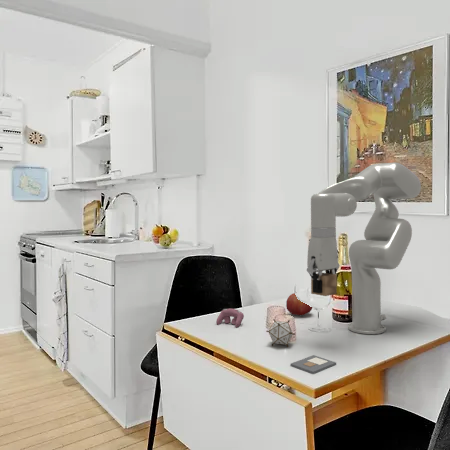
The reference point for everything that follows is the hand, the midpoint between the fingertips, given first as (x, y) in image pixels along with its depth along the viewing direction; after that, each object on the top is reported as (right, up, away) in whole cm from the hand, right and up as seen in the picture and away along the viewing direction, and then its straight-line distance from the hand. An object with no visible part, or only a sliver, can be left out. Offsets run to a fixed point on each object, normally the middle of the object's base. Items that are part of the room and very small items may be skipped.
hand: (323, 290), depth 136 cm
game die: (-13, -18, +3) cm, 22 cm away
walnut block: (0, -1, 0) cm, 1 cm away
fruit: (-1, -16, +39) cm, 42 cm away
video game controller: (-29, -17, +28) cm, 44 cm away
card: (-6, -18, -15) cm, 24 cm away
